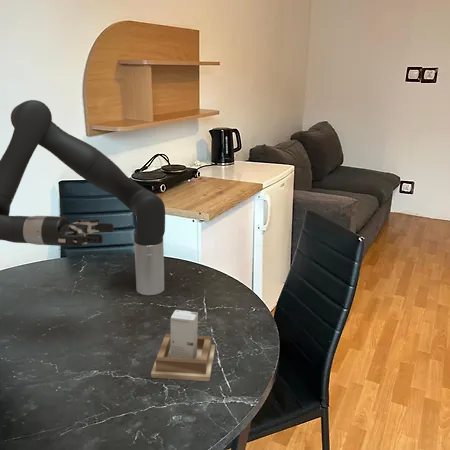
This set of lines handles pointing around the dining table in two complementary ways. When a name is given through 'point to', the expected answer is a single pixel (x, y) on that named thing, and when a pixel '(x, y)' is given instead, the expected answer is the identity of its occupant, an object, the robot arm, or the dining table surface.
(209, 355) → the socket board
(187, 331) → the skincare box
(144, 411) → the dining table surface
